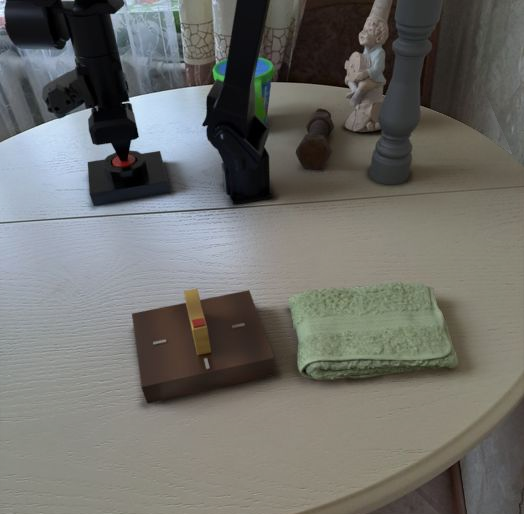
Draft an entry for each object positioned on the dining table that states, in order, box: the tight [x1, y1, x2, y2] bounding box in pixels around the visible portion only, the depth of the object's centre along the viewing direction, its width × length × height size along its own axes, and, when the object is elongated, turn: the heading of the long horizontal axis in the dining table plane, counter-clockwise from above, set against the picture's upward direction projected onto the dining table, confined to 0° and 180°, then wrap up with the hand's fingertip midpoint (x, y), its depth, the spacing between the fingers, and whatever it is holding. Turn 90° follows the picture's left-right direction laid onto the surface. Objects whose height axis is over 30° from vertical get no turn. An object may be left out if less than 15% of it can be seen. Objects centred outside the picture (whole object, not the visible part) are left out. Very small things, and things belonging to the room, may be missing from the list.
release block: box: [87, 150, 171, 207], centre depth 80 cm, size 12×10×4 cm
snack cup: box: [212, 56, 275, 126], centre depth 90 cm, size 16×10×10 cm
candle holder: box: [369, 0, 444, 186], centre depth 72 cm, size 6×6×25 cm
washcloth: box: [288, 282, 459, 381], centre depth 57 cm, size 13×18×3 cm
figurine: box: [344, 0, 393, 133], centre depth 85 cm, size 9×8×20 cm
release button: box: [112, 155, 136, 168], centre depth 79 cm, size 4×4×2 cm
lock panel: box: [131, 289, 275, 404], centre depth 56 cm, size 14×11×3 cm
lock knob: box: [183, 288, 211, 355], centre depth 53 cm, size 6×2×4 cm, turn 15°
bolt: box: [295, 108, 335, 170], centre depth 86 cm, size 6×5×15 cm
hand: (124, 160), depth 78 cm, fingers closed, pressing on release button
